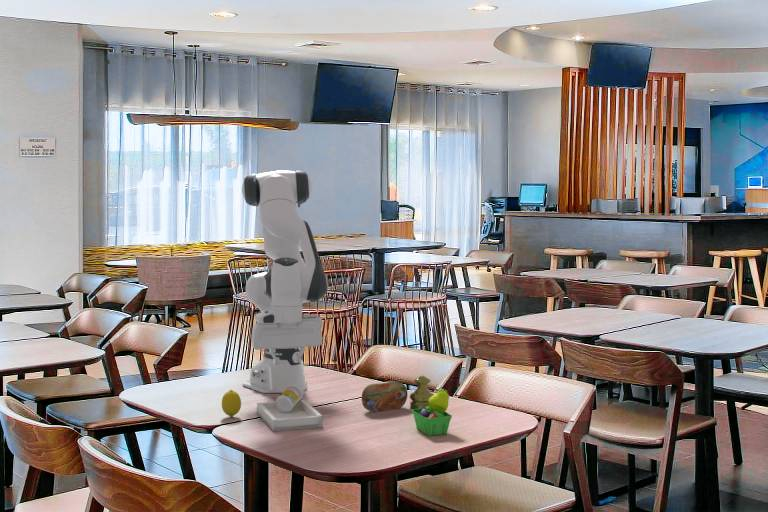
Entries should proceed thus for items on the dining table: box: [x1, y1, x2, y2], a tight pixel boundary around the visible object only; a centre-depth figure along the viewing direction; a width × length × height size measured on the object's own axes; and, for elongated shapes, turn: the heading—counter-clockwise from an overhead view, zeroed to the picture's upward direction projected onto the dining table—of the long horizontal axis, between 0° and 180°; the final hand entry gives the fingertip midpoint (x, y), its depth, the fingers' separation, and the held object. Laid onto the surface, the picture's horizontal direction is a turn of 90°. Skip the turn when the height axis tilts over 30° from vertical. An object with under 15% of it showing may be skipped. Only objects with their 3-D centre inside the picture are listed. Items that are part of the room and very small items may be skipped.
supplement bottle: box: [275, 384, 306, 413], centre depth 269 cm, size 5×5×10 cm
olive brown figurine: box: [409, 375, 435, 411], centre depth 274 cm, size 7×7×10 cm
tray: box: [256, 398, 324, 432], centre depth 261 cm, size 22×14×3 cm, turn 19°
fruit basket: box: [411, 388, 453, 437], centre depth 249 cm, size 11×9×11 cm
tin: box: [361, 380, 408, 413], centre depth 273 cm, size 15×3×8 cm, turn 122°
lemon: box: [221, 389, 242, 418], centre depth 264 cm, size 6×6×8 cm
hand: (287, 363), depth 262 cm, fingers open, 5 cm apart
